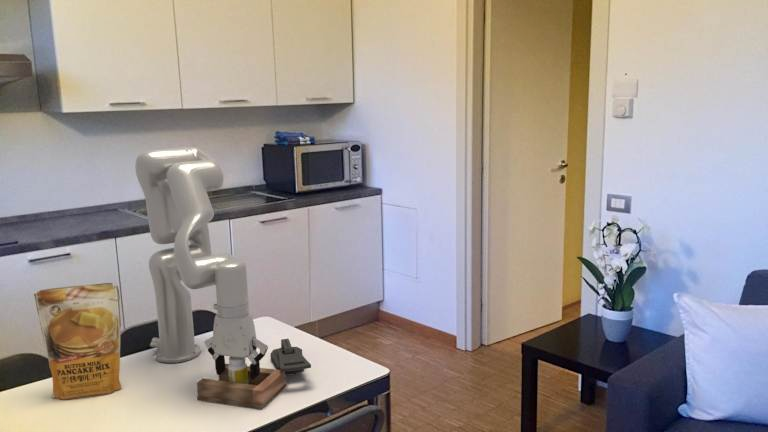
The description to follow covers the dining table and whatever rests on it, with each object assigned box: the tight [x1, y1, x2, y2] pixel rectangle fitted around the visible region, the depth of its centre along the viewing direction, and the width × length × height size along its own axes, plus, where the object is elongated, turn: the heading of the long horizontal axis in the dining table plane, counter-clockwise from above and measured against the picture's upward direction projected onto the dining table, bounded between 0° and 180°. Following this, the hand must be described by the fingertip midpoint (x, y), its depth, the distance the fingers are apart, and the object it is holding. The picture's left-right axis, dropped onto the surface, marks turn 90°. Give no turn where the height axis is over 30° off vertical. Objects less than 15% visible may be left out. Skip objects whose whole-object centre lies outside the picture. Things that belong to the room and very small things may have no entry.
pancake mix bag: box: [33, 282, 123, 401], centre depth 165 cm, size 7×19×28 cm, turn 105°
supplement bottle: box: [228, 356, 249, 384], centre depth 164 cm, size 5×5×8 cm
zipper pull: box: [270, 338, 312, 376], centre depth 176 cm, size 9×7×25 cm
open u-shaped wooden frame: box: [196, 363, 288, 411], centre depth 164 cm, size 18×13×4 cm
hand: (237, 374), depth 164 cm, fingers open, 9 cm apart
